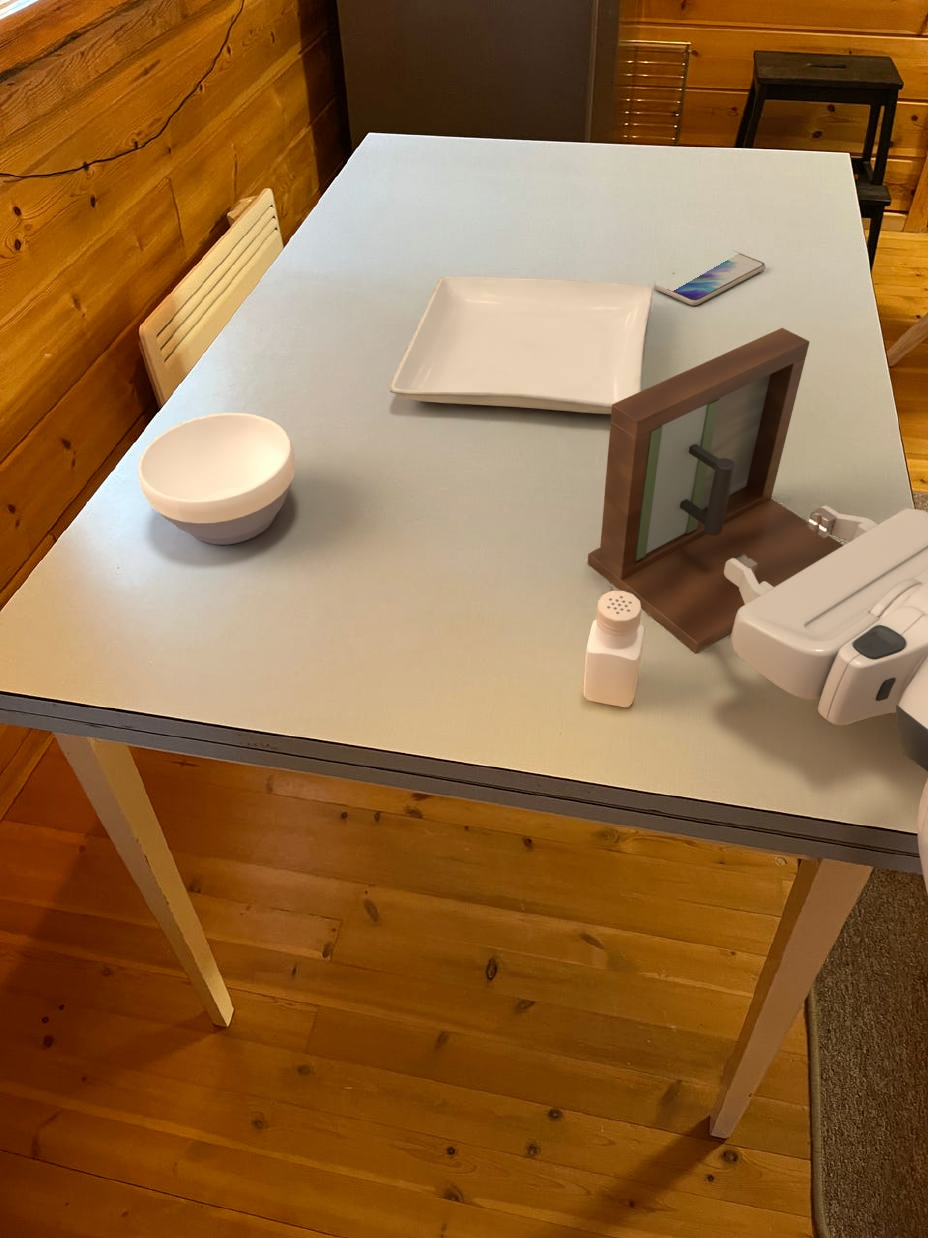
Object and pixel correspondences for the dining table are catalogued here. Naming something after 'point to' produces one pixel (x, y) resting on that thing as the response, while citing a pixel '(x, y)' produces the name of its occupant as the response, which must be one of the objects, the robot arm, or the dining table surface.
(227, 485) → the bowl
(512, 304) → the square plate
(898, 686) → the robot arm
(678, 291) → the smartphone
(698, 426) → the window sash
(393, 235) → the dining table surface
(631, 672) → the salt shaker
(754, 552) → the window frame
